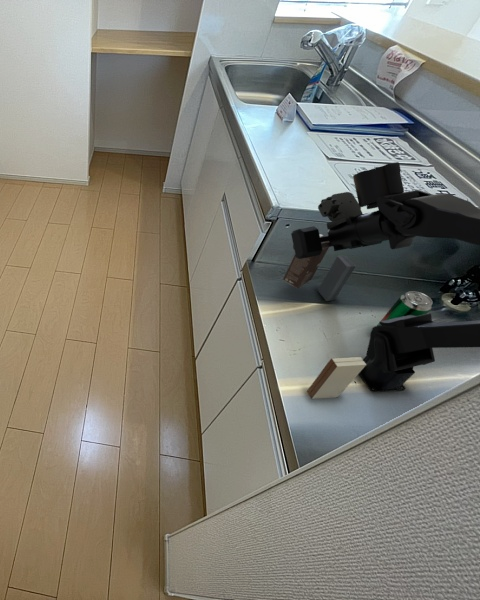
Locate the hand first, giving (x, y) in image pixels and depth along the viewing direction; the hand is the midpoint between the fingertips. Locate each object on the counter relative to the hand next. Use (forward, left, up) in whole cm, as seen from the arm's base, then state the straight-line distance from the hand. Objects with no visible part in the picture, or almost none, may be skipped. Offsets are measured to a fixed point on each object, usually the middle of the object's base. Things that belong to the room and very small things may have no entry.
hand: (307, 244), depth 81 cm
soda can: (-18, -13, -13) cm, 26 cm away
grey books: (-4, -8, -13) cm, 16 cm away
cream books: (-31, +7, -13) cm, 35 cm away
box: (-2, 0, -10) cm, 10 cm away
